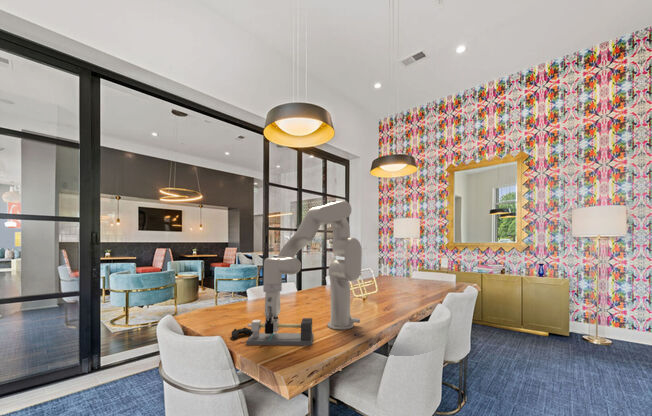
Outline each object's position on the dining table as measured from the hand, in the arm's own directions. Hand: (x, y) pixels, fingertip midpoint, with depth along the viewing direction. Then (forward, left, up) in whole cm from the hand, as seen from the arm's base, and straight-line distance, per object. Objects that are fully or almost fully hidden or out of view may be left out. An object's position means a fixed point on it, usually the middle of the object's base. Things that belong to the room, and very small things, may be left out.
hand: (271, 329), depth 119 cm
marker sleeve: (0, 0, 0) cm, 0 cm away
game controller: (+14, -5, -5) cm, 16 cm away
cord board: (-4, 0, -4) cm, 6 cm away
